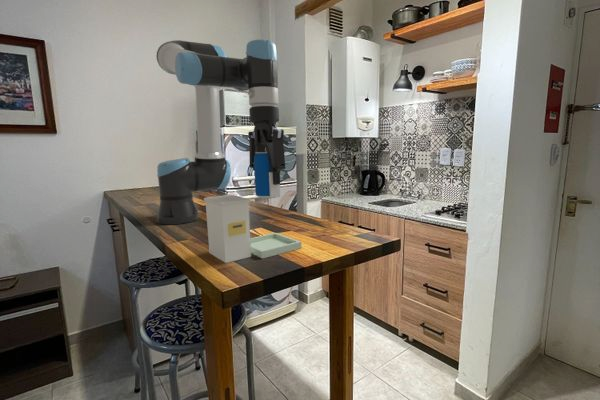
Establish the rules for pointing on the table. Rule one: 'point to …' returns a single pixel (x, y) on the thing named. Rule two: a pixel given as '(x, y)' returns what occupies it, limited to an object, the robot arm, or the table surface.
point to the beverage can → (262, 175)
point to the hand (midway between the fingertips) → (267, 195)
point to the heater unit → (228, 227)
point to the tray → (273, 245)
